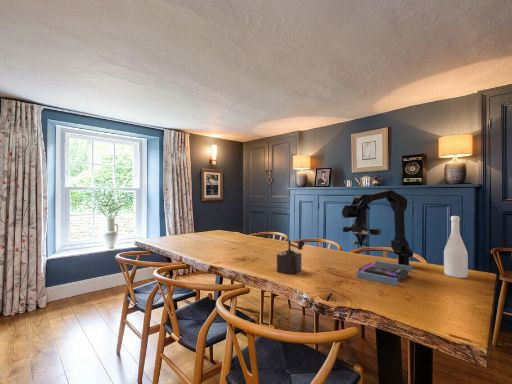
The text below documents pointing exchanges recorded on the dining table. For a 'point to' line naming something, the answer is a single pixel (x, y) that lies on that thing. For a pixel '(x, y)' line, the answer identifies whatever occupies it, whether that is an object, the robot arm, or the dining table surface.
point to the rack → (383, 278)
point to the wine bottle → (455, 253)
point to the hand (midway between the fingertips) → (361, 246)
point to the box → (385, 271)
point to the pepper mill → (290, 260)
